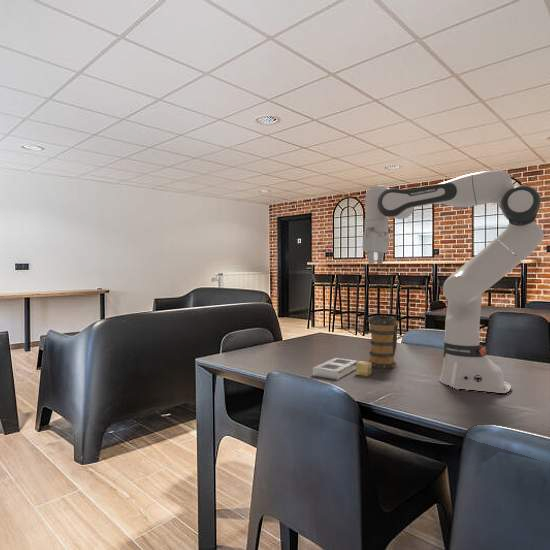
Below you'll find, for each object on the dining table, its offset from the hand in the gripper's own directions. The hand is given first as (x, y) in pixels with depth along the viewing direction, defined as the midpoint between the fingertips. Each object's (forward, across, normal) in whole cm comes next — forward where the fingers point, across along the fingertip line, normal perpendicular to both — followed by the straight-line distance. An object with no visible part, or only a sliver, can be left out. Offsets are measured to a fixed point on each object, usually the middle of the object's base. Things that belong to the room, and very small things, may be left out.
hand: (375, 263), depth 159 cm
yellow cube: (+42, -7, +2) cm, 43 cm away
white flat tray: (+42, -10, +12) cm, 45 cm away
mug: (+42, +12, 0) cm, 44 cm away
